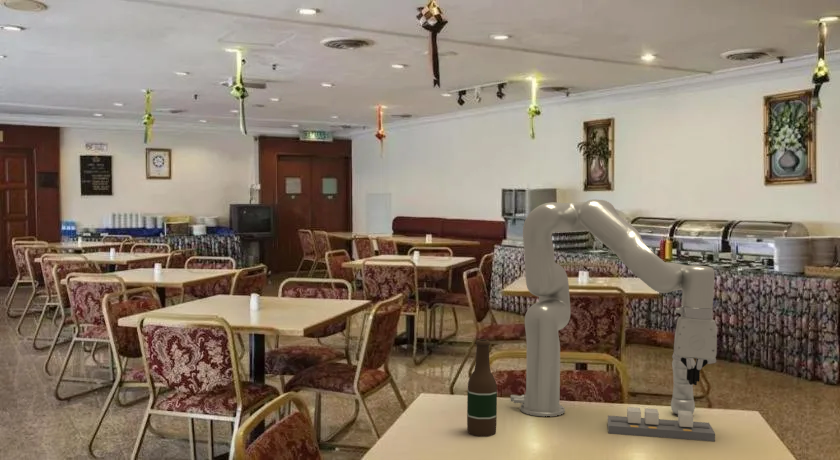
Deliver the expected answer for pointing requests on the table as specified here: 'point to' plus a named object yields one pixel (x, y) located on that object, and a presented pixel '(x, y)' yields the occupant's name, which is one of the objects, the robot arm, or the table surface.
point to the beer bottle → (482, 394)
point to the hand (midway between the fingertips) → (692, 383)
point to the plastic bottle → (682, 388)
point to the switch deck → (661, 429)
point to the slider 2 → (651, 416)
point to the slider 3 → (685, 418)
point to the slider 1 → (633, 415)
